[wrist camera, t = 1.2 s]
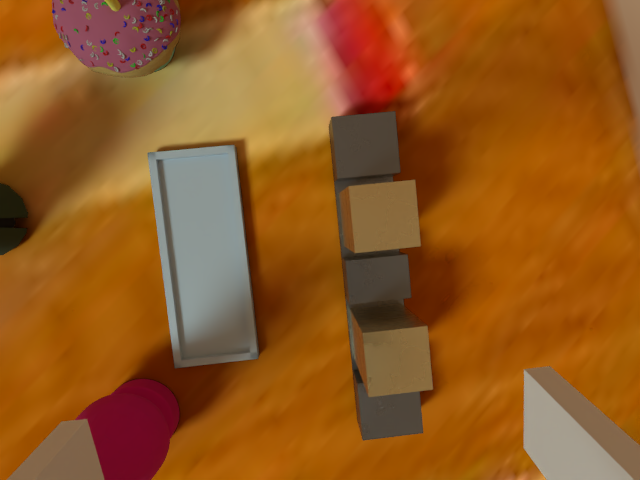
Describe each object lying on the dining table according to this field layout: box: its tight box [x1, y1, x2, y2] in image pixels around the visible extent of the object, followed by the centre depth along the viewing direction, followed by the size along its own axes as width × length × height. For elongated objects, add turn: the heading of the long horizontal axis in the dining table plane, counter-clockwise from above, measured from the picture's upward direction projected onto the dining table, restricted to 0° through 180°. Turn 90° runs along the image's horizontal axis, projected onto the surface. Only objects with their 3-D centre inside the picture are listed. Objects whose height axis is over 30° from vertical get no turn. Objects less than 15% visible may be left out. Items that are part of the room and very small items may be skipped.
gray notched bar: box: [329, 111, 423, 440], centre depth 31 cm, size 26×5×3 cm, turn 6°
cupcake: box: [52, 0, 181, 77], centre depth 25 cm, size 9×8×12 cm
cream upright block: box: [350, 303, 433, 397], centre depth 29 cm, size 4×4×7 cm
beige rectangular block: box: [339, 180, 421, 253], centre depth 29 cm, size 4×4×7 cm
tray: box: [148, 145, 259, 368], centre depth 32 cm, size 18×7×1 cm, turn 6°
